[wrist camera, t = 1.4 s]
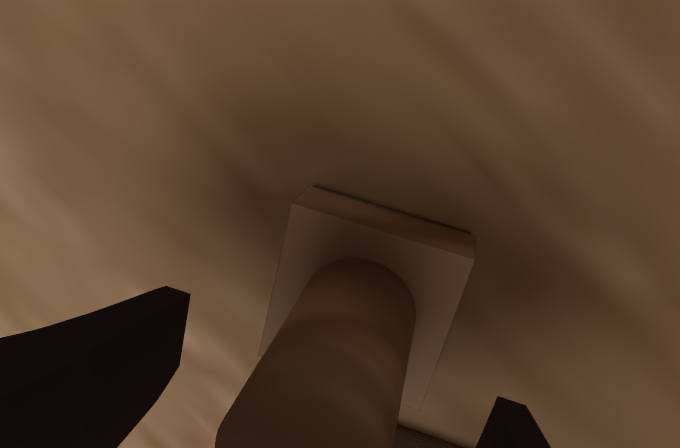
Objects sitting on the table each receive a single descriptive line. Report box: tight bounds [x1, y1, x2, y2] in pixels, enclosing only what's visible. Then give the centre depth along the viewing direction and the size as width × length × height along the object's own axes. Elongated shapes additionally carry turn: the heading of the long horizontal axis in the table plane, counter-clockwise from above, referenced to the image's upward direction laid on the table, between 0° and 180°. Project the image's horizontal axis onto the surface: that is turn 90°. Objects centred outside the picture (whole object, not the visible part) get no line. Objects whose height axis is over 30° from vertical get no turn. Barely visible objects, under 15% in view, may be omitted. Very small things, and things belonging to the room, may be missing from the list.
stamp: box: [215, 186, 475, 448], centre depth 14 cm, size 5×5×8 cm
